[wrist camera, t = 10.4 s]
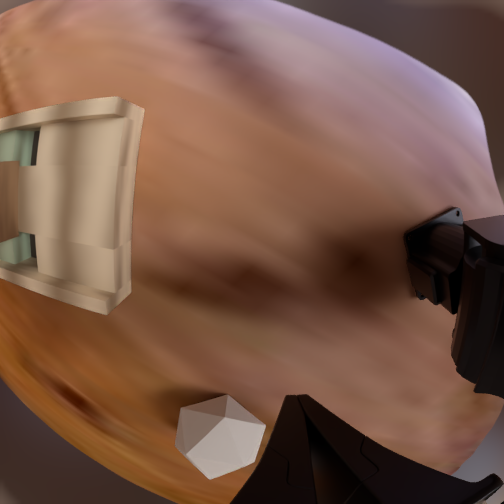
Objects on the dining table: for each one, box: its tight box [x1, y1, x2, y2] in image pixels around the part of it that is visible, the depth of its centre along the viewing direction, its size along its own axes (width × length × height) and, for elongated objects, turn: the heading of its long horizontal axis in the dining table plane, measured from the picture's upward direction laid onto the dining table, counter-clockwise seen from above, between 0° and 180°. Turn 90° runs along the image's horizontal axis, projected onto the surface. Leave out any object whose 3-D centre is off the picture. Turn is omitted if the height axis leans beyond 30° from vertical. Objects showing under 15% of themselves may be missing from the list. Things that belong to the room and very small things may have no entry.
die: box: [175, 394, 266, 480], centre depth 22 cm, size 8×9×10 cm
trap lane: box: [0, 96, 145, 315], centre depth 18 cm, size 24×15×6 cm, turn 82°
